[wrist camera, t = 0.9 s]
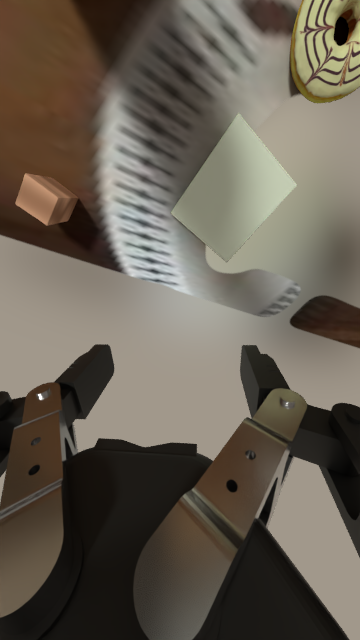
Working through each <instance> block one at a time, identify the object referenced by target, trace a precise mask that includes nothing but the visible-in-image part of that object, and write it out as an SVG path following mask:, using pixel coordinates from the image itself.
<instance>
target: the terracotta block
mask: <svg viewBox="0 0 360 640" xmlns="http://www.w3.org/2000/svg"><path fill="white" fill-rule="evenodd" d="M77 201H78V197H77V196H75V195H74V194H73V193H72V192H70V191H69V190H68V189H66V188H65V187H64V186H62V185H61V184H60V183H58V182H57V181H56V180H55V179H53V178H50V177H44V176H38V175H32V174H26V173H25V176H24V179H23V182H22V185H21V188H20V191H19V194H18V197H17V200H16V203H15V204H16V205H18V206H19V207H21V208H22V209H24V210H25V211H27V212H28V213H29V214H31V215H32V216H34V217H35V218H37V219H38V220H40V221H41V222H43V223H44V224H46V225H51V224H56V223H61V222H66V221H68V220H69V218H70V216H71V214H72V211H73V209H74V207H75V205H76V203H77Z"/></svg>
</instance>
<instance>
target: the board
mask: <svg viewBox="0 0 360 640" xmlns="http://www.w3.org/2000/svg"><path fill="white" fill-rule="evenodd" d="M296 186H297V185H296V183H295V182H294V181H293V180H292V178H291V177H290V176H289V175H288V173H286V171H285V170H284V169H283V167H282V166H281V165H280V163H279V162H278V161H277V160H276V158H275V157H274V156H273V155H272V154H271V152H270V151H269V150H268V149H267V148H266V146H265V145H264V144H263V142H262V141H261V140H260V139H259V137H258V136H257V135H256V134H255V132H254V131H253V130H252V129H251V127H250V126H249V125H248V124H247V122H246V121H245V120H244V119H243V117H242V116H241V115H240V114H239V113H238V114H237V116H236V117H235V119H234V120H233V122H232V123H231V125H230V126H229V128H228V129H227V130H226V132H225V133H224V135H223V136H222V138H221V139H220V141H219V142H218V144H217V145H216V147H215V148H214V150H213V151H212V153H211V154H210V155H209V157H208V158H207V160H206V161H205V163H204V164H203V166H202V167H201V169H200V170H199V172H198V173H197V175H196V176H195V178H194V179H193V181H192V182H191V183H190V185H189V186H188V188H187V189H186V191H185V192H184V194H183V195H182V197H181V198H180V200H179V201H178V203H177V204H176V206H175V207H174V208H173V210H172V211H171V214H172V215H173V216H174V217H175V218H176V219H178V220H179V221H180V222H181V223H182V224H183V225H184V226H186V227H187V228H188V229H189V230H190V231H191V232H192V233H194V234H195V235H196V236H197V237H198V238H199V239H200V240H202V241H203V242H204V243H205V244H206V245H207V246H208V247H210V248H211V249H212V250H213V251H214V252H215V253H217V254H218V255H219V256H220V257H221V258H222V259H223V260H225V261H226V262H228V261H229V260H230V259H231V257H232V256H233V255H234V254H235V253H236V252H237V251H238V250H239V249H240V247H241V246H242V245H243V244H244V243H245V242H246V241H247V240H248V239H249V237H250V236H251V235H252V234H253V233H254V232H255V231H256V230H257V229H258V228H259V226H260V225H261V224H262V223H263V222H264V221H265V220H266V219H267V218H268V216H269V215H270V214H271V213H272V212H273V211H274V210H275V209H276V208H277V207H278V205H279V204H280V203H281V202H282V201H283V200H284V199H285V198H286V197H287V196H288V194H289V193H290V192H291V191H292V190H293V189H294V188H295V187H296Z"/></svg>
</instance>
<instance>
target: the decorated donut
mask: <svg viewBox="0 0 360 640" xmlns="http://www.w3.org/2000/svg"><path fill="white" fill-rule="evenodd" d="M339 17H343V18H345V19H346V21H347V23H348V27H349V33H348V38H347V41H346V43H345V44H344V45H342V46H338V45H337V44H336V42H335V41H334V37H333V36H334V30H335V23H336V21H337V19H338V18H339ZM290 62H291V63H290V64H291V72H292V78H293V80H294V82H295V84H296V87H297V88H298V90H299V91H300V92H301V94H302V95H303V96H304V97H305V98H306V99H308V100H309V101H311V102H314V103H325V102H332V101H334V100H335V101H336V100H338V99H341V98H343V97H345V96H347V95H348V94H350V93H352V92H353V91H355V90H356V89H357V88H358V87H360V0H302V3H301V5H300V8H299V11H298V14H297V18H296V21H295V25H294V30H293V34H292V39H291V47H290Z"/></svg>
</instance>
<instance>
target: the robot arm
mask: <svg viewBox="0 0 360 640" xmlns="http://www.w3.org/2000/svg"><path fill="white" fill-rule="evenodd" d="M113 373H114V363H113V359H112V354H111V349H110V346H109V345H94V346H93V347H92V349H90V351H89V352H87V353H85V354H83V355H82V356H80V357H79V358H78V359H77V360H76V361H75V362H74V363H73V364H72V365H71V366H70V367H69V368H68V369H67V370H66V371H65V372H64V373H63V374H62V375H61V376H60V377H59V378H58V379H57V380H56V381H55V382H53V383H46V384H42V385H40V386H38V387H36V388H34V389H33V390H32V391H30V392H29V393H28V394H27V396H26V397H22V398H17V399H11V397H10V395H9V394H8V392H5V391H1V392H0V477H1V475H2V474H3V473H4V472H5V471H6V474H5V480H4V486H3V491H2V496H1V502H0V640H349V639H348V637H347V635H346V634H345V633H344V631H343V630H342V628H341V627H340V626H339V624H338V623H337V622H336V620H335V619H334V618H333V616H332V615H331V614H330V612H329V611H328V610H327V608H326V607H325V605H324V604H323V603H322V602H321V600H320V599H319V597H318V596H317V595H316V593H315V592H314V591H313V589H312V588H311V587H310V585H309V584H308V583H307V581H306V580H305V579H304V577H303V576H302V575H301V573H300V572H299V571H298V569H297V568H296V567H295V565H294V564H293V563H292V561H291V560H290V559H289V557H288V556H287V555H286V553H285V552H284V551H283V549H282V548H281V546H280V545H279V544H278V543H277V541H276V540H275V539H274V537H273V536H272V534H271V533H270V532H269V531H268V529H267V528H268V525H269V522H270V520H271V518H272V515H273V512H274V509H275V506H276V503H277V500H278V497H279V494H280V491H281V489H282V486H283V484H284V482H285V479H286V477H287V474H288V471H289V469H290V467H291V464H292V462H293V459H294V457H297V458H300V459H303V460H306V461H308V462H311V463H314V464H317V465H319V467H320V469H321V471H322V474H323V476H324V478H325V480H326V483H327V485H328V487H329V490H330V492H331V494H332V496H333V498H334V501H335V503H336V505H337V508H338V510H339V512H340V514H341V517H342V519H343V521H344V523H345V526H346V528H347V530H348V532H349V534H350V537H351V539H352V541H353V544H354V546H355V548H356V550H357V553H358V555H359V557H360V407H358V406H355V405H352V404H347V403H338V404H335V405H334V406H333V407H332V410H331V411H329V410H325V409H321V408H317V407H314V406H311V405H308V404H307V403H306V401H305V399H304V398H303V397H302V396H301V395H299V394H298V393H296V392H294V391H292V390H290V388H289V386H288V384H287V383H286V381H285V379H284V377H283V375H282V374H281V372H280V370H279V369H278V367H277V365H276V363H275V362H274V360H273V359H272V358H271V357H269V356H268V355H267V354H260V352H259V350H258V348H257V346H256V345H243V346H242V353H241V366H240V373H241V380H242V384H243V388H244V391H245V395H246V399H247V402H248V406H249V410H250V414H251V417H252V419H250V418H245V419H244V420H243V422H242V423H241V424H240V426H239V427H238V428H237V430H236V431H235V433H234V434H233V435H232V437H231V438H230V439H229V441H228V442H227V444H226V445H225V446H224V447H223V449H222V450H221V452H220V453H219V454H218V456H217V457H216V458H215V460H214V461H212V460H211V459H209V458H208V457H205V456H203V455H201V454H198V453H197V444H187V443H167V444H162V445H156V446H151V447H141V446H138V445H135V444H133V443H130V442H127V441H124V440H119V439H101V438H99V439H98V441H97V443H96V445H95V447H93V448H90V449H86V450H84V451H81V452H79V453H78V449H77V442H76V435H75V429H74V425H73V422H74V420H75V419H86V417H87V416H88V414H89V412H90V411H91V409H92V407H93V406H94V404H95V403H96V401H97V400H98V398H99V396H100V395H101V393H102V392H103V390H104V388H105V387H106V385H107V384H108V382H109V381H110V379H111V377H112V376H113Z"/></svg>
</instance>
